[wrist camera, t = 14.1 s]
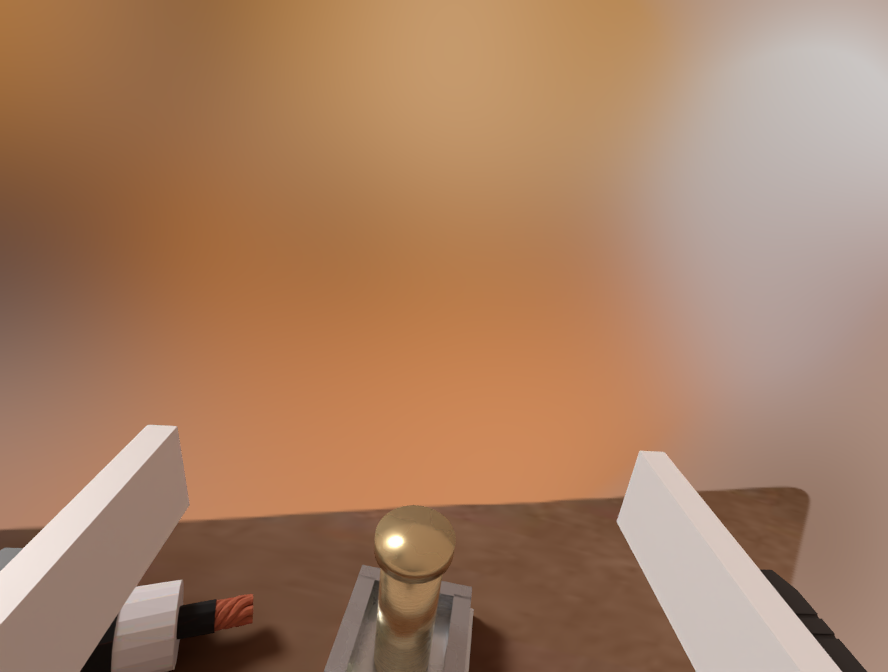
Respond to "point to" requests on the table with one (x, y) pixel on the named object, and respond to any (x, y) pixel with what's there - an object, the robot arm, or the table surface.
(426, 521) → the end pin
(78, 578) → the robot arm
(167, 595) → the cable
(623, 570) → the table surface
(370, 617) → the keeper bracket
